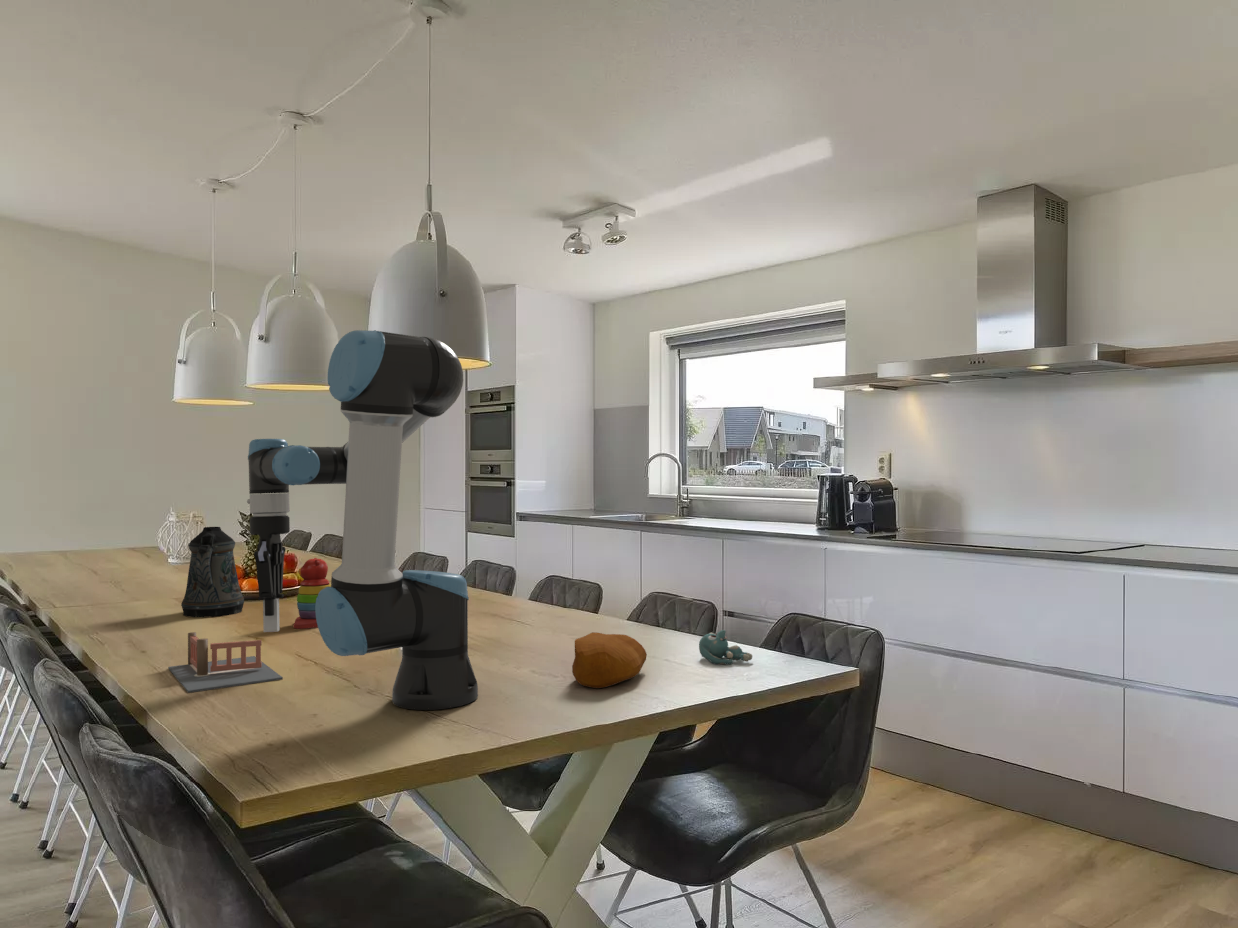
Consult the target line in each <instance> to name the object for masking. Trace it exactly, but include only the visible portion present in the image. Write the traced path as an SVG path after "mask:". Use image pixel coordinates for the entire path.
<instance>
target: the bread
mask: <svg viewBox="0 0 1238 928" xmlns="http://www.w3.org/2000/svg"><path fill="white" fill-rule="evenodd" d="M647 655H648V654H647V651H646V649H645V647H644V646H643V645H642V644H641V643H640V642H639V641H637V640H636V639H635V638H633V637H631V636H629V635H627V634H618V633H617V634H616V633H611V634H609V633H608V634H606V633H602V632H590V633H588V634H586V635H584V636H582V637H578V638H576V639H575V640H574V660H573V662H572V665H571V667H572V668H571V672H572V676H574V677H573V678H574V679H575V680H576V681H577V683H578V684H580V685H582V686H584V687H589V688H593V689H602V688H608V687H611V686H615V685H617V684H619V683H621V682H624V681H627V680H630V679H633V678H635V677H636V676H637V675H639V674H640V672H641V670H642V668H643V666H644V664H645V662H646V660H647Z"/></svg>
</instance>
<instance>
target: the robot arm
mask: <svg viewBox="0 0 1238 928" xmlns="http://www.w3.org/2000/svg"><path fill="white" fill-rule="evenodd" d="M463 384H464V371H463V366H462V363H461V362H460V359H459V357H458V355H457V354H456V353H455V352H454V350H453V349H452V348H451V347H449V345H447V344H446V343H444V342H443V341H441V340H439V339H436V338H432V337H428V336H417V335H409V334H402V333H393V332H388V331H387V332H386V331H380V330H362V329H361V330H360V329H358V330H357V329H356V330H352V331H349V332H347V333H345V334H344V335H343V336H341V338H340V339H339V341H338V342H337V344H336V345H335V346H334V348H333V350H332V353H331V355H330V359H329V362H328V367H327V385H328V386H329V387H328V388H329V389H328V390H329V392H330V395H331V396H332V397H333V398H334V399H336V400H337V401H339V402H340V412H341V414H343V416H344V417H345V419H346V420H347V421H348V425H349V426H348V427H349V428H348V440H347V441H346V443H345V444H343V446H305V445H293V444H292V445H289V443H288V441H287V440H286V439H283V438H258V439H257V438H254V439H252V440H251V441H249V444H248V454H247V460H248V486H249V487H248V490H249V491H248V492H249V498H248V499H246V502H247V505H248V504H249V513H250V514H252V516H250V518H249V534H250V535H252V536H259V537H258V538H259V539H258V540H259V541H258V544H257V545H256V548H257V550H254V552H253V556H254V560H255V568H256V576H257V587H258V588H257V589H258V597H257V600H258V601H262V610H263V611H262V613H263V614H262V615H263V619H262V620H263V621H262V622H263V633H275V632H279V631H280V598H284V595H285V594H283V586H284V584H283V583H284V568H285V567H284V566H285V565H284V564H285V563H284V562H285V554H286V547H285V546H283V545H284V544H283V542H282V540H281V539H282V538H281V535H285V534H289V533H290V531H291V529H290V528H291V527H290V524H291V523H290V517H289V515H288V514H287V513H289V512H290V489H289V486H303V485H340V484H342V485H345V496H344V497H345V498H344V515H343V517H344V519H343V533H342V553H341V564H340V565H338V567H336V568H335V569H334V570H333V571H332V572H331V582H330V584H331V587H326V588H325V589H322V590H321V591H320V592H319V594H318V597H317V599H316V605H315V612H316V620H317V625H318V627H317V628H318V632H319V635H320V636H321V639H322V641H323V642H324V644H325V646H326V647H327V648H328V649H329V650H330V652H331V653H333V654H335V655H336V656H340V657H349V656H365V655H366V654H370V653H371V654H372V653H377V652H382V651H383V652H384V651H388V650H393V649H398V648H399V649H401V648H402V651H401V652H402V655H401V656H402V657H401V661H400V664H399V667H398V671H397V674H396V677H395V681H394V683H393V687H392V691H391V692H392V695H391V697H392V704H393V705H395V706H396V707H399V708H402V709H408V710H419V711H420V710H421V711H432V710H433V711H434V710H435V711H436V710H445V709H453V708H457V707H461V706H465V705H467V704H471V703H472V702H474V701H475V700H478V696H479V694H478V693H479V686H478V685H479V684H478V680H477V679H476V676H475V673H474V670H473V666H472V663H471V660H470V657H469V647H468V646H469V644H468V643H469V641H468V640H469V639H468V638H469V634H468V633H469V630H468V627H469V624H468V623H469V622H468V621H469V620H468V619H469V617H468V615H469V614H468V609H469V607H468V606H469V604H468V601H470V600H469V594H468V593H469V592H468V591H469V590H468V584H467V580H466V578H465V577H464V576H463V575H461V574H458V573H452V572H447V571H446V572H445V571H434V570H422V569H421V570H420V569H419V570H417V569H415V570H414V569H407V570H406V569H405V570H403V571H400V569H398V567H397V566H396V565H395V564H396V563H395V562H396V561H395V560H396V548H397V545H396V544H397V531H398V530H397V529H398V528H397V527H398V512H399V497H400V478H401V463H402V462H401V461H402V446H403V443H404V442H405V441H406V440H407V439H408V438H410V437H411V436H412V435H413V434H414V433H415V432H416V431H417V430H419V428H421V427H422V426H423V425H424V424H426V422H427V421H428V420H429V419H430V418H437V417H440V416H442V415H443V414H445V413H446V412H447V411H448V410H449V409H450V408H451V407H452V406H453V405H454V403H456V402H457V399H458V398H459V397H460V394H461V392H462V389H463Z"/></svg>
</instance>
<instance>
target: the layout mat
mask: <svg viewBox="0 0 1238 928" xmlns="http://www.w3.org/2000/svg"><path fill="white" fill-rule="evenodd" d="M251 662H256V655H250V656H246V663H251ZM261 662H262V667H261V668H249V669H237V670H225V671H212V672H211V671H210V667H211V666H212V660H211V661H208V674H207V675H203V676H198V675H197V669H196V668H195V667H194V666H193V665H188V663H187V664H179V665H174V666H173V665H172V666H168V670H169V671H170V672H171V674H172V675H173V676H174V677H175V679H176V680H177V681H178V683H179V684H180V685H181V686H182V687H183V688H184V690H185V692H187V693H189V694H190V693H191V694H192V693H196V692H203V691H210V690H218V689H225V688H231V687H232V688H233V687H239V686H244V685H252V684H260V683H266V682H273V681H274V682H275V681H280V680H283V679H284V678H283V676H282V675H280V674H279V673H278V672H276V671H275V670H274V669H272V668H271V667H270V666H268V665H267V664H266V663H264V662H263V661H262V660H261ZM238 663H241V657H235V658H232V664H238ZM225 664H227V658H225V659H220V660H218V659H217V665H225Z"/></svg>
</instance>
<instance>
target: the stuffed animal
mask: <svg viewBox="0 0 1238 928" xmlns="http://www.w3.org/2000/svg"><path fill="white" fill-rule="evenodd" d="M726 632H727V631H726V630H725V629H721V630H720V631H718V632H717V633H714V632H709V633H706V634H704V635H703V636H702V637H701V638H700V640H699V644H698V649H699V654H700V655H701V657H703V658H705V659H706V660H708V661H709V662H710V663H711V664H713V665H717V666H718V665H719V666H726V665H731V664H733V662H734V661H738V660H741V661H743V662H749V661H752V659H753V654H752V653H750V652H747V651H745V652H744V651H743V649H742V648H741V646H738V645H737V644H736V645H731V646H729V642H728V637H727V636H726ZM723 657H724V659H723Z"/></svg>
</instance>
